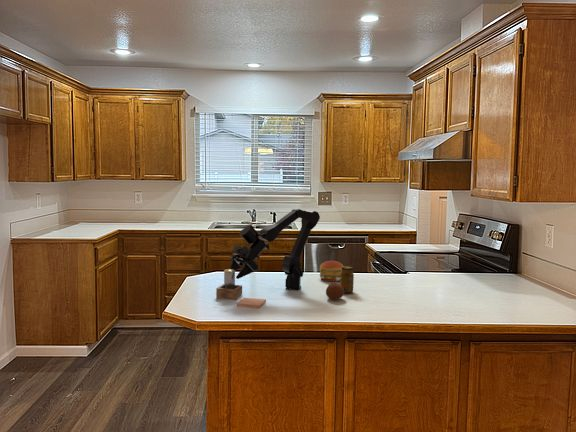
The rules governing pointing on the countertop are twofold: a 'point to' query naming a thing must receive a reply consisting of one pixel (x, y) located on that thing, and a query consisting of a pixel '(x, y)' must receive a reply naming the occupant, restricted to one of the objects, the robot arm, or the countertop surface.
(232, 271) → the silver and gold cylinder
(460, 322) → the countertop surface
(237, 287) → the socket block
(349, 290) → the condiment
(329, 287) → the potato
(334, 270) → the burger
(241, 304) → the terracotta tile
